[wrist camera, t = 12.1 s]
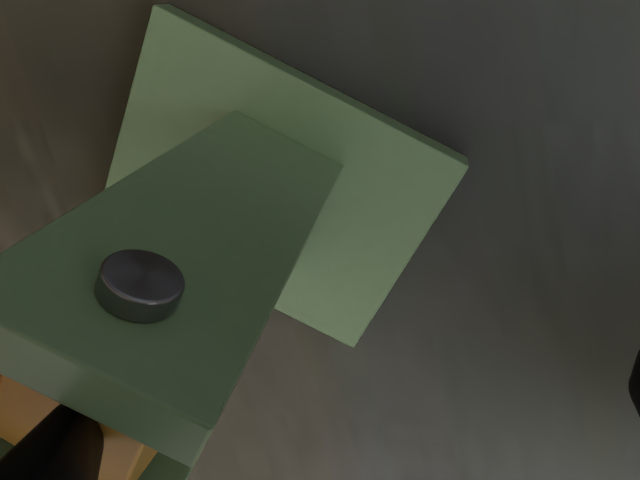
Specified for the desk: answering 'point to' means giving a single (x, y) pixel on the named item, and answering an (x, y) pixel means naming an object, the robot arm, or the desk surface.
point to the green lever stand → (214, 238)
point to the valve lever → (32, 407)
